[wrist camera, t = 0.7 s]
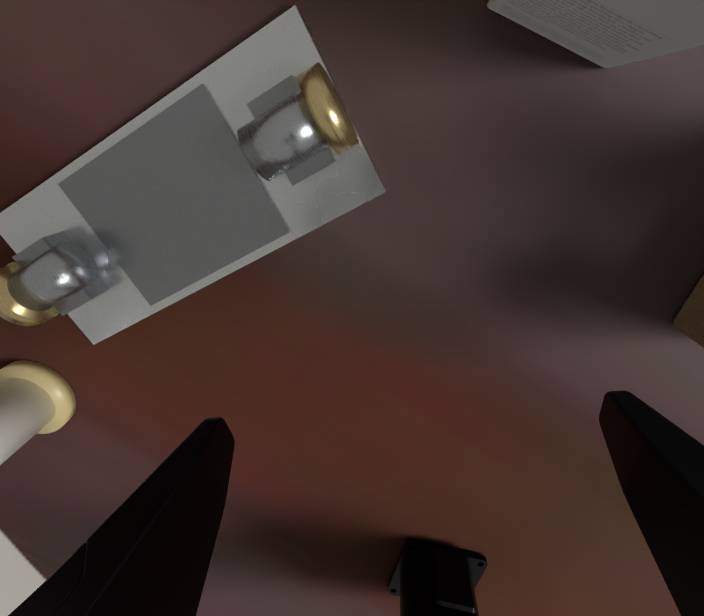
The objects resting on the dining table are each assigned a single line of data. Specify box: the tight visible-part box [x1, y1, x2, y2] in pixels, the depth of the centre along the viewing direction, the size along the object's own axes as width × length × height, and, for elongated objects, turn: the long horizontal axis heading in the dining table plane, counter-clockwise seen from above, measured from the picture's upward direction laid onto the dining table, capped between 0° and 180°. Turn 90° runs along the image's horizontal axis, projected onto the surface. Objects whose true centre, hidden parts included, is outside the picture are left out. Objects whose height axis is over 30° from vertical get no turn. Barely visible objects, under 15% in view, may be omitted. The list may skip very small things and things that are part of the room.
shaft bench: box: [0, 5, 386, 345], centre depth 21 cm, size 21×9×4 cm, turn 118°
